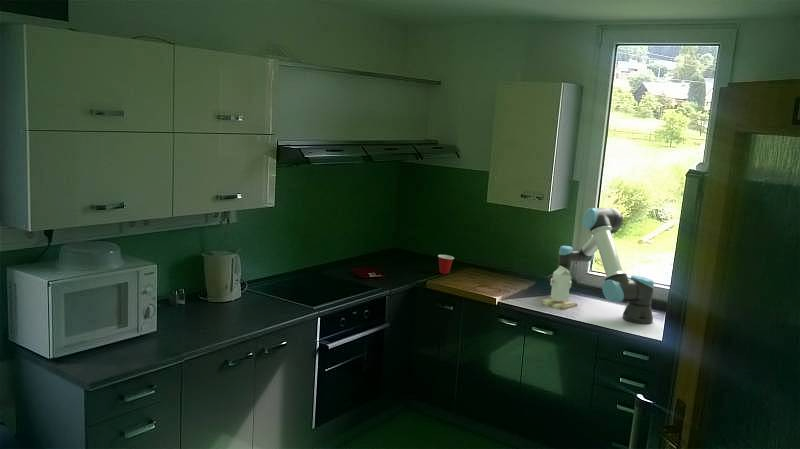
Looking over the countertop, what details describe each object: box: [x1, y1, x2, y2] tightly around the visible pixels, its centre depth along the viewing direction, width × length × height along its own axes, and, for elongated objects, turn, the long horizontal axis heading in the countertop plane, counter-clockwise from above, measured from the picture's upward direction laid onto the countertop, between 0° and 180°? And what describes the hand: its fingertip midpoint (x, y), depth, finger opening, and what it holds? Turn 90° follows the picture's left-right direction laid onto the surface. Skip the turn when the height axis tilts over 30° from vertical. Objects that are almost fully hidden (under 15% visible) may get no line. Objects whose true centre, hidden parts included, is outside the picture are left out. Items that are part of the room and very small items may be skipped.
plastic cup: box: [437, 254, 455, 275], centre depth 412 cm, size 11×11×12 cm
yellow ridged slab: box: [540, 297, 578, 311], centre depth 357 cm, size 15×14×2 cm
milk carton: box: [550, 266, 572, 301], centre depth 355 cm, size 7×7×19 cm
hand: (560, 284), depth 351 cm, fingers closed on milk carton, 10 cm apart
